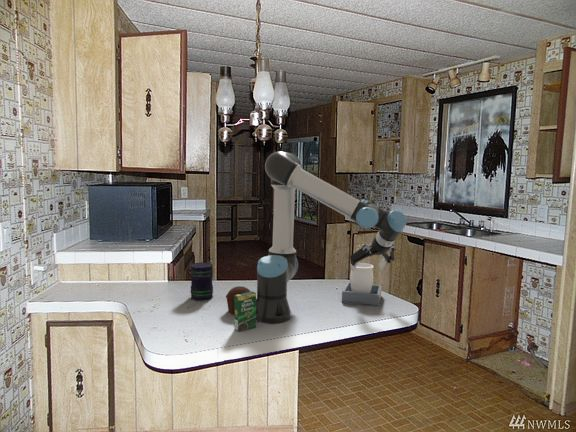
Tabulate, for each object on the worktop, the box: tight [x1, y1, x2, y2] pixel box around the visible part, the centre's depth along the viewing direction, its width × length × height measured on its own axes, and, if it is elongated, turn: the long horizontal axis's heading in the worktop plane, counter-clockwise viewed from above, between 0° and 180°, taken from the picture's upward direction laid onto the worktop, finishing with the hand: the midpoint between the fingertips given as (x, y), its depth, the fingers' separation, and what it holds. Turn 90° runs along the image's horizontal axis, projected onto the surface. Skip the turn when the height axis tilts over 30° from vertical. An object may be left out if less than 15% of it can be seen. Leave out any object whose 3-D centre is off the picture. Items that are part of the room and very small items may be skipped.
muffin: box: [225, 286, 252, 316], centre depth 166 cm, size 12×11×10 cm
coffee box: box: [233, 290, 257, 332], centre depth 149 cm, size 8×3×13 cm, turn 127°
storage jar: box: [190, 261, 214, 302], centre depth 183 cm, size 10×10×15 cm
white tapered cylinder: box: [349, 262, 375, 293], centre depth 187 cm, size 11×10×15 cm
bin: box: [341, 281, 382, 307], centre depth 187 cm, size 16×16×5 cm
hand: (366, 267), depth 183 cm, fingers open, 13 cm apart
